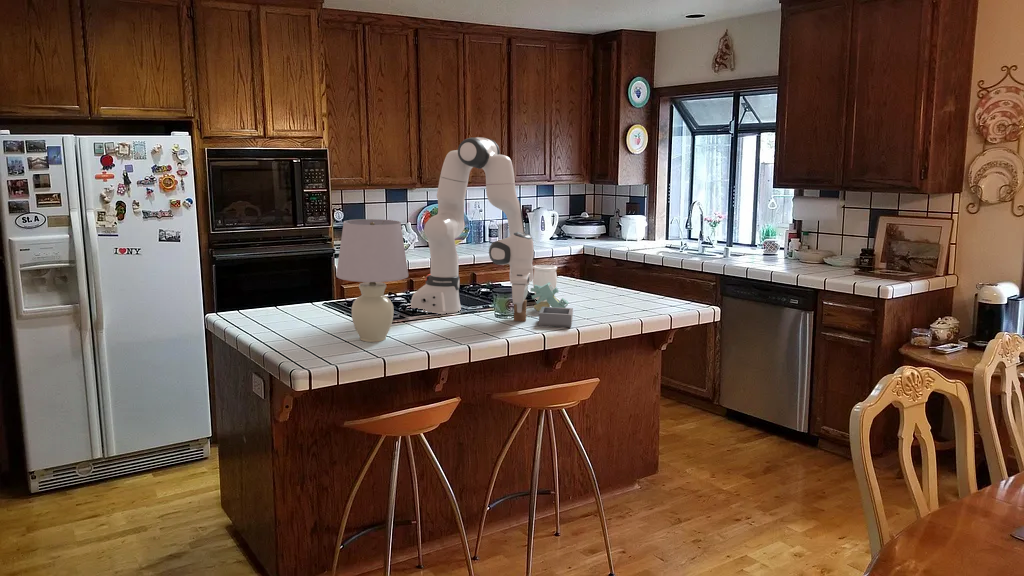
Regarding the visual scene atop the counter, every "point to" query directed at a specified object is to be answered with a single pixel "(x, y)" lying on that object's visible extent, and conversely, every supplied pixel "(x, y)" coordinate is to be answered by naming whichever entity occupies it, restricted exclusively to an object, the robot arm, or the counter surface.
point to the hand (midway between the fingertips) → (520, 311)
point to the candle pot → (555, 317)
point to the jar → (544, 276)
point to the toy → (547, 297)
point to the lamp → (372, 271)
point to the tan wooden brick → (521, 315)
